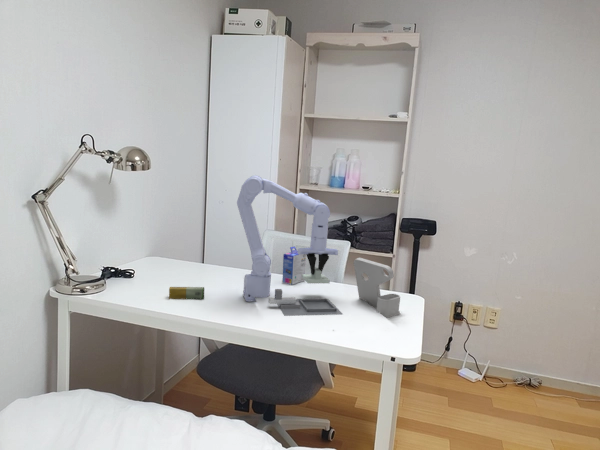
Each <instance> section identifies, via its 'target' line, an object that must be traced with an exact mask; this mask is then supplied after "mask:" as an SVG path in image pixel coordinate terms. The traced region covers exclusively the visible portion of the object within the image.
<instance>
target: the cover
mask: <svg viewBox="0 0 600 450" xmlns="http://www.w3.org/2000/svg"><path fill="white" fill-rule="evenodd" d="M321 272H322V273H323V270H322V271H321V270H320V269H318V266H315V273H314V275H312V274H311V273H310V274H306V273H305V274H302V278H303V279H304V281H305V282H306V284H330V281H331V279H329V278H328V277H327V276H326V275H325V274H321Z"/></svg>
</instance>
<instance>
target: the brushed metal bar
mask: <svg viewBox="0 0 600 450" xmlns="http://www.w3.org/2000/svg"><path fill="white" fill-rule="evenodd" d="M296 299H297V298H296V297H294V296H292V297H288V296H287V297H283V290H282V288H275V289H274V297H268V304H269V305H277V304H296Z"/></svg>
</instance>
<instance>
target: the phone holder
mask: <svg viewBox="0 0 600 450" xmlns="http://www.w3.org/2000/svg"><path fill="white" fill-rule="evenodd" d="M353 267H354V274H355V275H354V276H355V279H356V281H355V282H356V287H357V292H358V299H359V300H362V301H365V302H366V303H367V304H369V305H370V307H372V308H373V309H374V310H375V311H376V313H379V314H381V316H383V317H384V318H385V319H388V318H390V317H395V316H398V315H400V302H401V296H400V295H399V294H396V293H387V294H384V295H381V289H380V285H382V284H385V283H386V282H389V281H390V280H392V279H393V278H394V274H395V273H394V271H393V269H392V267H391V266H389V265H387V264H383V263H380V262H377V261H373V260H370V259H366V258H362V257H357V258H355V259H354V260H353ZM384 270H385V271H386V272H387V274H388V275H387V274H386V272H385V271H384ZM364 274H365V275H366V276H367V277H368V279H365V277H364Z"/></svg>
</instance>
